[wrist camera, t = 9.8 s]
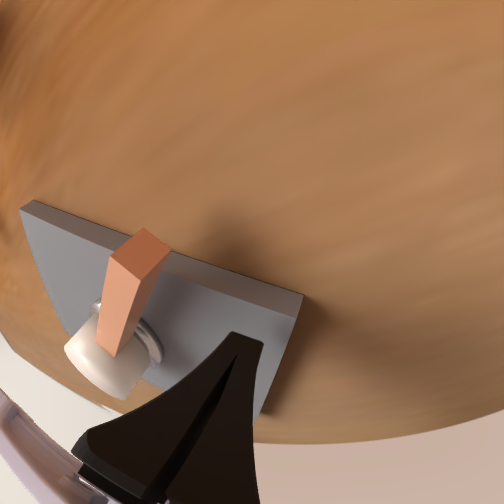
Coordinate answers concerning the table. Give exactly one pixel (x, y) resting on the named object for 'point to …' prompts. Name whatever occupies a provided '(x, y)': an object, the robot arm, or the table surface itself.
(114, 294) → the handle
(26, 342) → the table surface
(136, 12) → the table surface
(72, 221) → the base plate
